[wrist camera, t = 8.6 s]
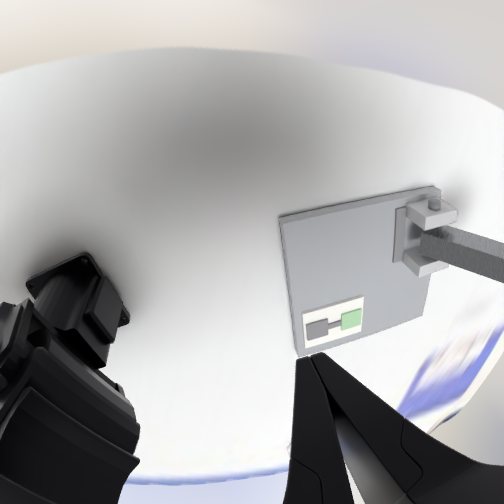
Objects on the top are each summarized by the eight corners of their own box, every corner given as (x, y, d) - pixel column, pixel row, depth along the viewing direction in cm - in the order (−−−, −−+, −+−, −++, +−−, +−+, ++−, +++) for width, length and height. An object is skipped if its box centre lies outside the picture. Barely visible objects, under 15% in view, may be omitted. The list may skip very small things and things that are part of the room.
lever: (415, 263, 21) (536, 306, 14) (420, 227, 20) (550, 270, 13) (428, 245, 23) (538, 283, 16) (432, 211, 22) (549, 248, 14)
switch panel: (295, 349, 28) (306, 378, 25) (278, 217, 21) (294, 241, 18) (417, 309, 28) (435, 331, 26) (433, 186, 22) (461, 202, 19)
